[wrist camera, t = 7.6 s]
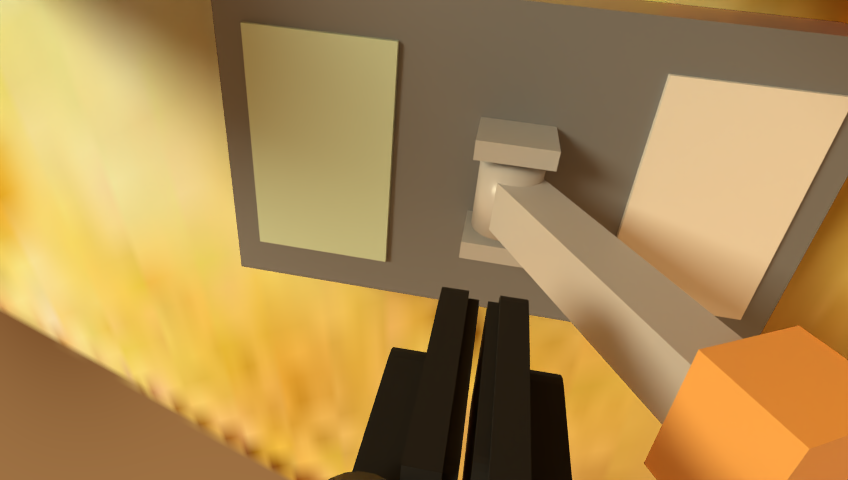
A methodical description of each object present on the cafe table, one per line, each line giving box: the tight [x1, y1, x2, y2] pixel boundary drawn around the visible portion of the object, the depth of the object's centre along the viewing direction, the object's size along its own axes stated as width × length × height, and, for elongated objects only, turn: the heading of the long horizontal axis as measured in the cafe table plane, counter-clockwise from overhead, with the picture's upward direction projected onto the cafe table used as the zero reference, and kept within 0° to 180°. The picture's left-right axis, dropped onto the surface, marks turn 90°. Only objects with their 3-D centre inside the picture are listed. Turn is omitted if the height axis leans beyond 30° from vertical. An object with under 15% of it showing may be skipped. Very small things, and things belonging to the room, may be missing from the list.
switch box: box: [211, 0, 848, 339], centre depth 18 cm, size 11×20×6 cm, turn 84°
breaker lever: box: [471, 161, 848, 480], centre depth 13 cm, size 3×2×12 cm
